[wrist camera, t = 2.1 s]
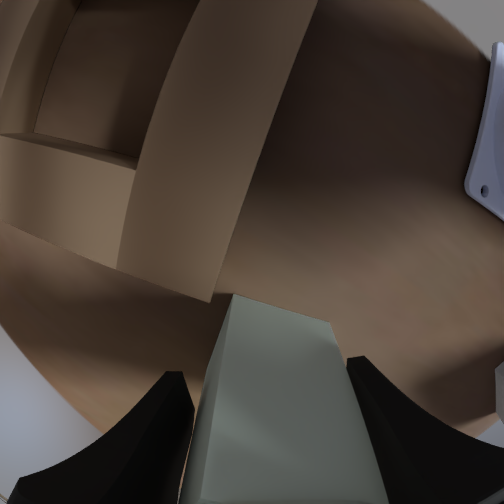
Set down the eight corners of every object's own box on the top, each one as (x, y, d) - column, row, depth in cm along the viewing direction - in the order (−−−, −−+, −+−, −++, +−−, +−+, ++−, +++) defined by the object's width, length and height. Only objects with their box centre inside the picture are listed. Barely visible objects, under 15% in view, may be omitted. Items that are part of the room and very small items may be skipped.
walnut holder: (328, -27, 7) (343, -61, 5) (219, 270, 11) (209, 302, 8) (68, -45, 6) (43, -64, 4) (-13, 185, 10) (-48, 195, 7)
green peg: (348, 313, 11) (442, 540, 2) (296, 400, 13) (316, 586, 4) (222, 274, 11) (151, 556, 2) (191, 373, 13) (141, 572, 4)
